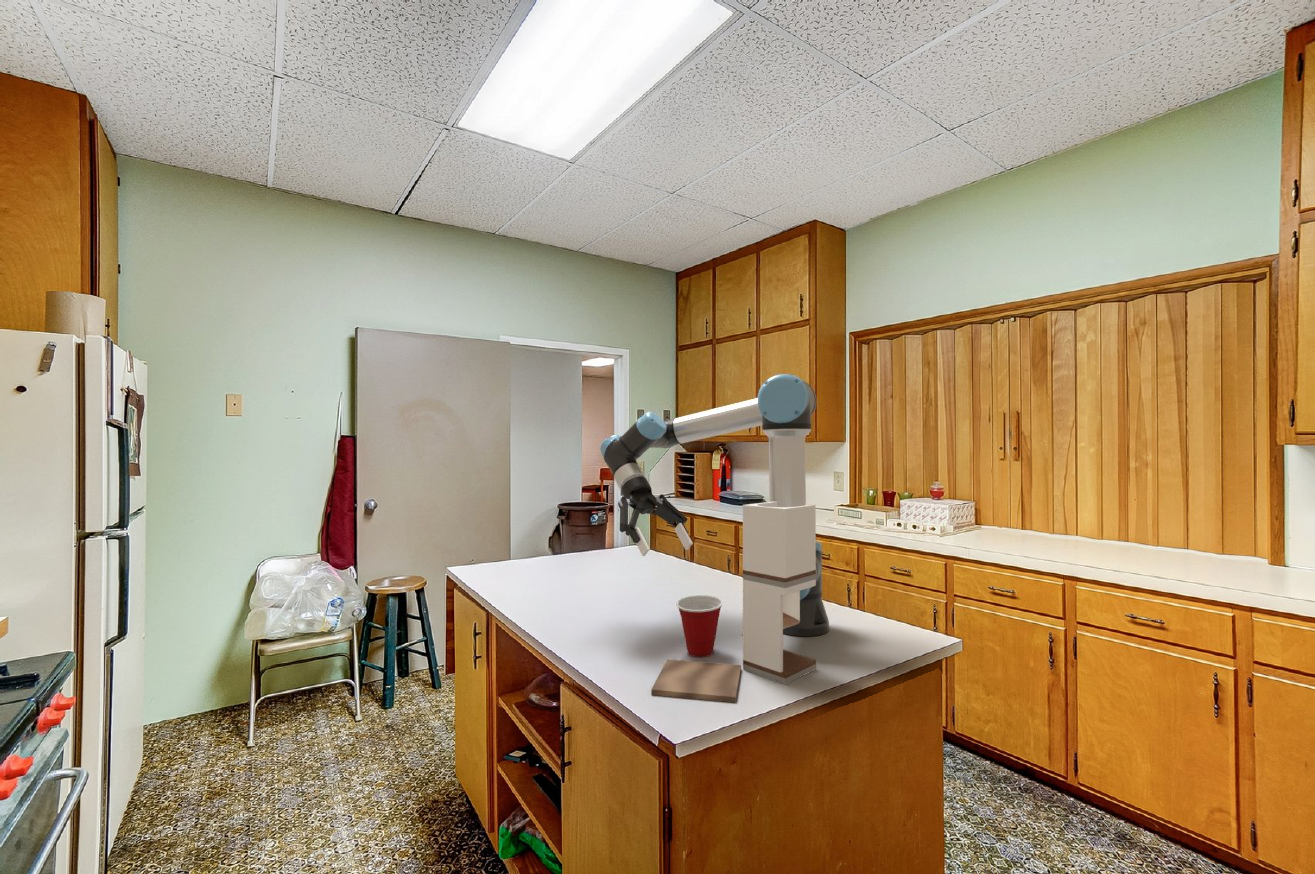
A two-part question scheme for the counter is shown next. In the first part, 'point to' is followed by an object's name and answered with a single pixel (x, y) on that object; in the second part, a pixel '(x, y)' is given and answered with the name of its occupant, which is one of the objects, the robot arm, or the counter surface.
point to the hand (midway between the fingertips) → (668, 549)
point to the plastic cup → (700, 623)
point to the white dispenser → (776, 585)
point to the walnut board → (698, 680)
